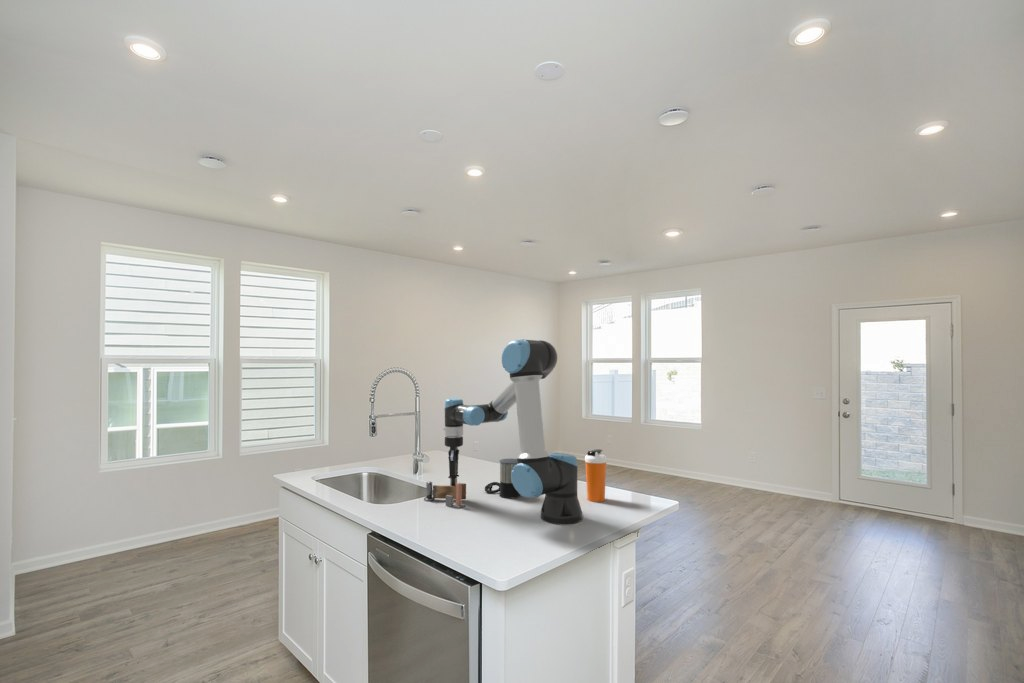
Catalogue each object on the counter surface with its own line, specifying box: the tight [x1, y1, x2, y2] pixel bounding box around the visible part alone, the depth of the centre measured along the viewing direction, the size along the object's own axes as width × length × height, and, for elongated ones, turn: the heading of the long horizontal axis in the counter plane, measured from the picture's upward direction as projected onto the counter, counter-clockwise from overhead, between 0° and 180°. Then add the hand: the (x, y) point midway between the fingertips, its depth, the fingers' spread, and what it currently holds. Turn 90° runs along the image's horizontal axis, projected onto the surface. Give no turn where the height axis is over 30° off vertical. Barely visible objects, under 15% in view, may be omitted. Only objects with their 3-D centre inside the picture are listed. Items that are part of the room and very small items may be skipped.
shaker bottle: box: [584, 449, 608, 503], centre depth 204 cm, size 9×9×20 cm
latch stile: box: [445, 482, 466, 509], centre depth 195 cm, size 7×4×9 cm, turn 53°
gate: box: [432, 482, 467, 500], centre depth 203 cm, size 14×2×6 cm, turn 83°
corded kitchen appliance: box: [484, 458, 522, 499], centre depth 213 cm, size 14×16×15 cm
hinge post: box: [423, 481, 436, 502], centre depth 204 cm, size 4×4×7 cm
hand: (453, 493), depth 205 cm, fingers closed
